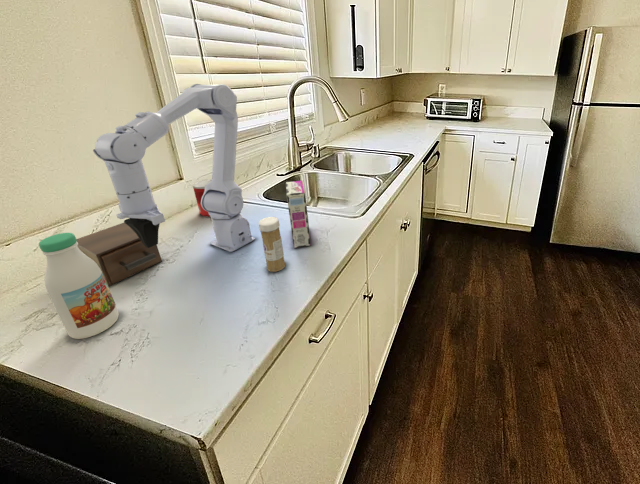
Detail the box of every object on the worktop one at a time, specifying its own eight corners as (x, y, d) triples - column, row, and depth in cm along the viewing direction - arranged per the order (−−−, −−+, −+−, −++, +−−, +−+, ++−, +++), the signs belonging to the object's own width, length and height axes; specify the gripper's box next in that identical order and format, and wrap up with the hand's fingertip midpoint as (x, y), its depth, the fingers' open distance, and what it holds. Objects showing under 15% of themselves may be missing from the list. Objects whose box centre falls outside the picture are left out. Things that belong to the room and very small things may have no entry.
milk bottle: (62, 346, 60) (14, 254, 53) (77, 319, 67) (36, 233, 60) (114, 331, 64) (76, 242, 56) (124, 306, 70) (91, 224, 63)
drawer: (169, 265, 83) (162, 240, 80) (121, 288, 74) (111, 262, 72) (136, 249, 90) (128, 226, 88) (89, 268, 82) (78, 244, 79)
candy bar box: (312, 245, 93) (305, 192, 87) (293, 249, 91) (285, 195, 85) (308, 228, 102) (302, 179, 96) (292, 231, 101) (284, 181, 95)
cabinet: (162, 261, 86) (152, 232, 83) (108, 286, 77) (96, 254, 73) (136, 248, 92) (126, 221, 89) (84, 270, 83) (71, 240, 79)
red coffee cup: (214, 218, 110) (207, 187, 106) (194, 216, 111) (186, 186, 107) (230, 208, 117) (223, 179, 113) (211, 206, 118) (204, 178, 114)
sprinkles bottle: (263, 269, 82) (254, 221, 77) (277, 260, 86) (269, 214, 81) (275, 274, 80) (266, 226, 75) (289, 265, 84) (282, 218, 79)
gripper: (94, 190, 69) (115, 245, 74) (128, 202, 62) (149, 262, 67) (132, 180, 75) (149, 232, 80) (167, 190, 68) (184, 246, 73)
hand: (151, 245), depth 74 cm, fingers closed
